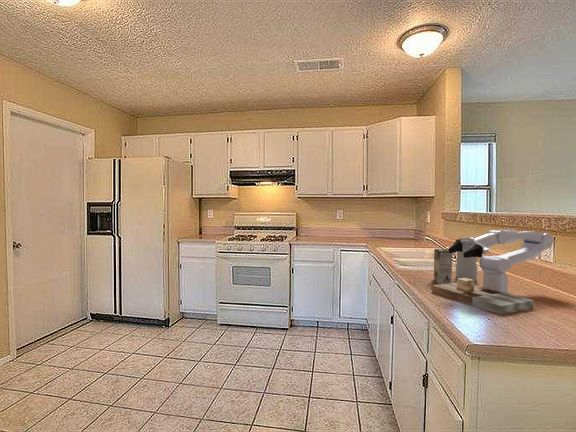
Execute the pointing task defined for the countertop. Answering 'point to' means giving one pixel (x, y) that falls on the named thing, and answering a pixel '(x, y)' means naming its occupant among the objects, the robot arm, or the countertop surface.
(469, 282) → the block
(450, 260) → the coffee box
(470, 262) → the grey upright slab
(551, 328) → the countertop surface
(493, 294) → the trap board
